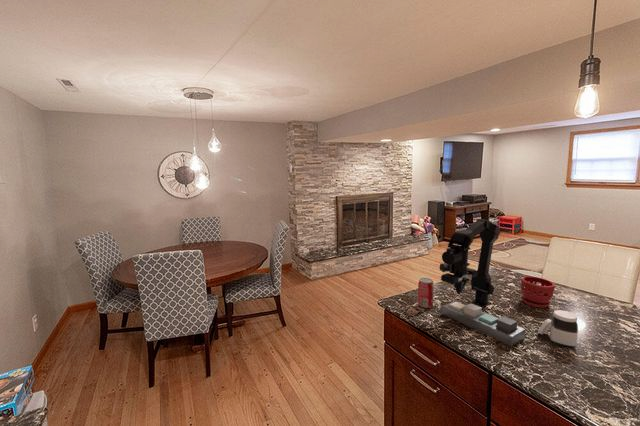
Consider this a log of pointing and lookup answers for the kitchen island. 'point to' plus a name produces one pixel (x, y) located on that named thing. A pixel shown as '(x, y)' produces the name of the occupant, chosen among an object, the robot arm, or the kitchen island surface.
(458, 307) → the key ivory
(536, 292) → the plant pot
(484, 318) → the key teal
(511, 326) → the key black
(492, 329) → the key panel
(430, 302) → the soda can
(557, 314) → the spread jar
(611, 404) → the kitchen island surface
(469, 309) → the key grey
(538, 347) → the kitchen island surface
